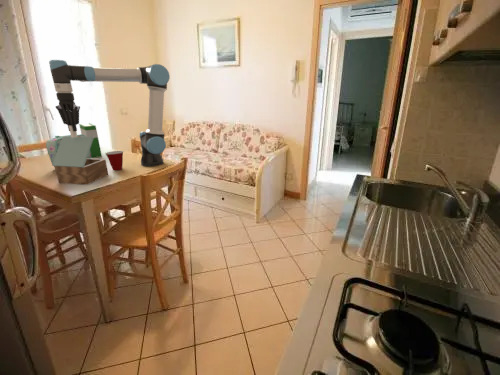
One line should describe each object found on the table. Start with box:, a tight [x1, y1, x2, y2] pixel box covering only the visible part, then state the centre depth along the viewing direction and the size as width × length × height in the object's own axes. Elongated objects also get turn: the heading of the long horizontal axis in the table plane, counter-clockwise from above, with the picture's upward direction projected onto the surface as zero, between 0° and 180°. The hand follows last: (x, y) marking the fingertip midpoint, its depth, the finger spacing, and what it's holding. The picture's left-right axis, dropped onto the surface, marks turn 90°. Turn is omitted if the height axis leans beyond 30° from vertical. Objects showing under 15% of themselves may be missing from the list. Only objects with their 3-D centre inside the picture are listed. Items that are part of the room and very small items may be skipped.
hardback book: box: [78, 122, 103, 159], centre depth 204 cm, size 18×7×24 cm, turn 43°
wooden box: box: [53, 158, 109, 186], centre depth 152 cm, size 18×18×10 cm
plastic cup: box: [104, 150, 124, 171], centre depth 170 cm, size 11×11×12 cm
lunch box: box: [45, 133, 92, 165], centre depth 177 cm, size 27×10×21 cm, turn 168°
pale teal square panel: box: [51, 135, 94, 168], centre depth 144 cm, size 19×18×1 cm
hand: (74, 137), depth 145 cm, fingers closed
